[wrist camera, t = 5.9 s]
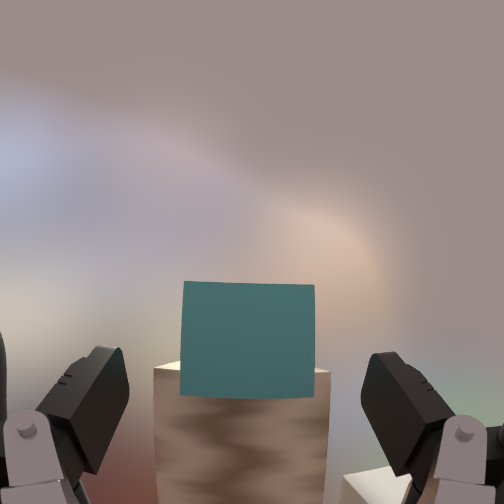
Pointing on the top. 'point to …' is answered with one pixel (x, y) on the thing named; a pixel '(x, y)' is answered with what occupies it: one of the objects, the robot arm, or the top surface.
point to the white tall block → (374, 487)
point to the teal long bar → (247, 340)
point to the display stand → (239, 445)
